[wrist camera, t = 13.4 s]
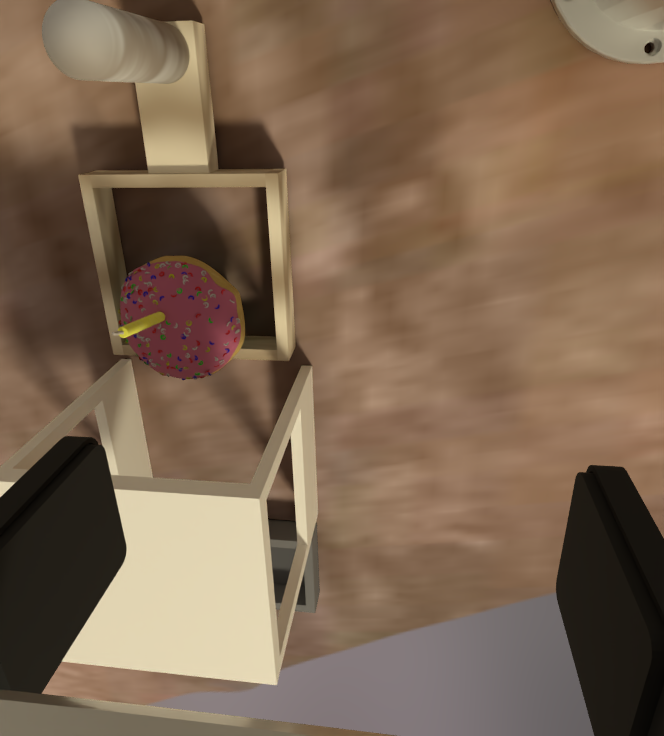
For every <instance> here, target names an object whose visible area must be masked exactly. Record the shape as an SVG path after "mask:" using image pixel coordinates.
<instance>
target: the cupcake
mask: <svg viewBox="0 0 664 736" xmlns="http://www.w3.org/2000/svg"><path fill="white" fill-rule="evenodd" d="M128 275H129V276H128V277H127V278H126V279H125V282H124V285H123V286H122V287H121V289H122V292H121V300H120V309H119V310H118V313H119V314H120V319H121V320H120V321H119V325H121V326H120V328H119V329H118V331H117V332H112V335H119V336H120V337H122V338H126V341H127V342H126V343H129V345H130V346H131V348H132V349H133V350H134V352H135V353H136V355H137V356H139V359H140V360H143V361H144V363H145V364H147V365H149V366H150V367H151V368H153V369H154V370H156V371H157V372H159V373H160V374H162V375H167V376H168V377H169V376H172V377H176V378H182V380H185V379H193V378H194V379H197V378H203V377H205V376H209V375H210V376H211V374H214V373H216V372H217V371H219V370H220V369H221V368H223V367H224V366H225V365H226V364H227V363H228V362H229V361H230V360H231V359H232V358H233V357H234V356H235V355H236V354H237V353H238V352H239V351H240V349H241V347H242V345H243V342H244V338H245V320H244V313H243V308H242V302H241V297H240V294H239V292H238V290H237V289H236V288H235V287H234V286H233V285H231V284H230V283H229V282H228V281H227V280H226V279H225V278H224V277H223V276H222V275H220V274H219V273H218V272H217V271H215V270H214V269H213V268H211V267H210V266H209V265H207V264H205V263H204V262H202V261H200V260H197V259H195V258H192V257H188V256H163V257H160V258H157V259H155V260H152V261H150V262H148V263H146V264H145V265H143V266H141V267H138V268H136V269H135V270H133V271H132V272H130V273H129V274H128ZM119 311H120V312H119Z"/></svg>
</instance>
